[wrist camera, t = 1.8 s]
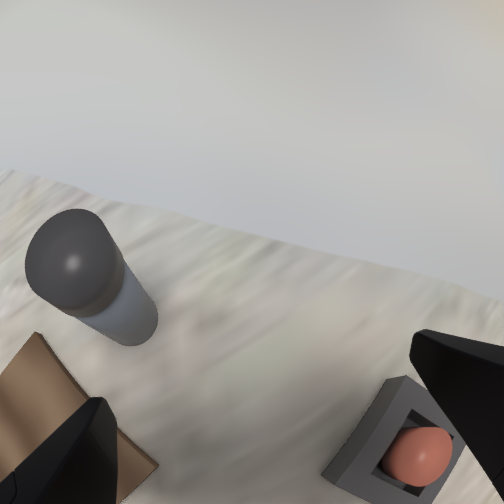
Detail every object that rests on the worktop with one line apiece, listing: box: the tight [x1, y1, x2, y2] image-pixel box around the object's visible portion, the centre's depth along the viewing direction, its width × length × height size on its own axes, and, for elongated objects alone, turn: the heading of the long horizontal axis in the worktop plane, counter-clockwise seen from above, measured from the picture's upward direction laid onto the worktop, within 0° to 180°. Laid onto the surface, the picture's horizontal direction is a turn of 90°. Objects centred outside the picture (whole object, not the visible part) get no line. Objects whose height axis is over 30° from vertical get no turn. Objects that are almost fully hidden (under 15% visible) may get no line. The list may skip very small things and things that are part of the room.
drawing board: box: [0, 332, 159, 504], centre depth 14 cm, size 16×14×1 cm
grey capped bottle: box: [25, 209, 158, 346], centre depth 16 cm, size 5×5×11 cm
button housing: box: [321, 375, 466, 504], centre depth 16 cm, size 9×9×3 cm
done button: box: [382, 427, 452, 487], centre depth 15 cm, size 4×4×3 cm
